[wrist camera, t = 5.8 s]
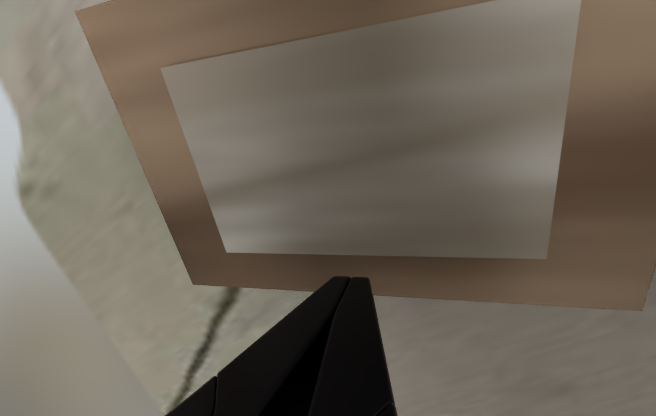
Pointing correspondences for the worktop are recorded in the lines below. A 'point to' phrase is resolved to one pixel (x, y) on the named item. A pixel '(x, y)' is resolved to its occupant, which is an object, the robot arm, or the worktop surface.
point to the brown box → (397, 142)
